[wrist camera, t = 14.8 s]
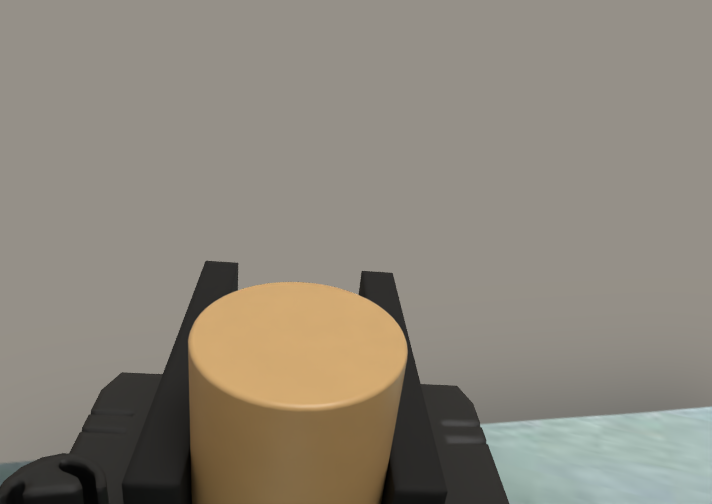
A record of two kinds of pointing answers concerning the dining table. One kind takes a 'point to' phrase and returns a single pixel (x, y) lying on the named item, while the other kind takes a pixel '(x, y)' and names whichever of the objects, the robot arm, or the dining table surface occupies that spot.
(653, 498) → the dining table surface
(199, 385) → the lid
